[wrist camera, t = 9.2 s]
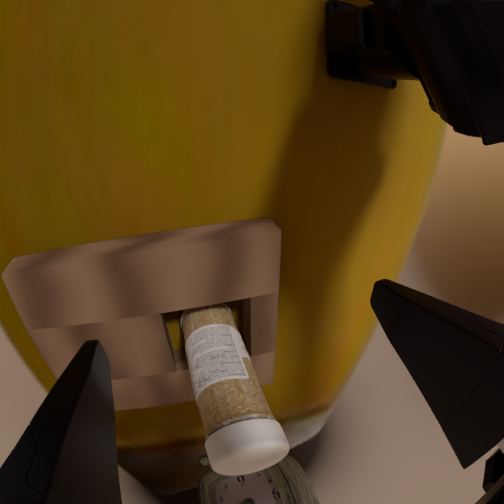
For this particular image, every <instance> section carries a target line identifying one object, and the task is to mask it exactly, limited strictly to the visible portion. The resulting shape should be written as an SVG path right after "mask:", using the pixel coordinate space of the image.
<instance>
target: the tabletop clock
mask: <svg viewBox="0 0 504 504" xmlns="http://www.w3.org/2000/svg"><path fill="white" fill-rule="evenodd" d="M200 462H201V464H202V465H204V466H207V465H208V466H209V467H210V468H211V469H212V467H211V464H210V461H209V458H208V457H202V458H201V459H200ZM198 491H199V500H200V504H319V501H318V499H317V496H316V494H315V491H314V489H313V486H312V484H311V483H310V481H309V479H308V478H307V476H306V474H305V472H304V471H303V469H302V468H301V466H300V465H299V464H298V463H297V461H295V460H294V459H293V458H292V457H290V456H287V455H286V456H285V457H284V458H283V459H282V460H281V461H279V462H277V463H276V464H274V465H272V466H270V467H268V468H266V469H263V470H260V471H257V472H254V473H250V474H245V475H237V476H227V475H221V474H218V473H216V472H215V471H214V470H213V469H212V470H211V471H209V472H207V473H206V474H205V475H203V476H202V477H201V478H200V479H199V486H198Z"/></svg>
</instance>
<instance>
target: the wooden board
mask: <svg viewBox="0 0 504 504" xmlns="http://www.w3.org/2000/svg"><path fill="white" fill-rule="evenodd" d="M281 236H282V231H281V230H280V229H279V227H278V226H277V225H276V224H275V223H274V222H273V221H272V220H271V219H270V218H269V217H266V218H258V219H250V220H242V221H234V222H227V223H219V224H212V225H205V226H198V227H191V228H184V229H177V230H170V231H163V232H157V233H150V234H144V235H138V236H131V237H125V238H119V239H113V240H107V241H101V242H95V243H90V244H84V245H78V246H73V247H67V248H62V249H56V250H51V251H46V252H40V253H35V254H30V255H25V256H20V257H15V258H13V259H12V260H11V262H10V263H9V265H8V266H7V268H6V269H5V271H4V272H3V274H2V275H1V276H2V278H3V280H4V283H5V285H6V287H7V290H8V292H9V294H10V296H11V298H12V301H13V303H14V305H15V307H16V309H17V311H18V313H19V315H20V317H21V319H22V321H23V323H24V325H25V327H26V328H27V330H28V332H29V334H30V336H31V338H32V339H33V341H34V343H35V345H36V346H37V348H38V350H39V351H40V353H41V355H42V356H43V358H44V359H45V361H46V363H47V364H48V366H49V367H50V369H51V370H52V372H53V373H54V375H55V376H56V378H57V379H59V377H60V376H61V374H62V373H63V371H64V370H65V368H66V367H67V366H68V364H69V363H70V361H71V360H72V359H73V357H74V356H75V354H76V353H77V352H78V350H79V349H80V347H81V346H82V345H83V343H84V342H85V341H87V340H94V339H97V340H99V341H100V343H101V345H102V347H103V349H104V351H105V352H106V354H107V356H108V359H109V362H110V372H111V382H112V391H113V399H114V409H115V411H119V410H130V409H140V408H148V407H156V406H163V405H170V404H177V403H183V402H189V401H195V400H196V399H195V395H194V390H193V386H192V381H191V376H190V371H189V367H188V362H187V356H186V351H185V349H181V350H175V351H173V348H172V344H171V340H170V337H169V333H168V329H167V325H166V321H165V317H164V313H166V312H172V311H178V310H184V309H190V308H196V307H202V306H207V305H213V304H219V303H224V302H230V301H235V300H240V299H242V312H243V338H242V340H243V342H244V345H245V347H246V350H247V352H248V355H249V357H250V360H251V363H252V366H253V368H254V371H255V373H256V376H257V379H258V381H259V384H260V386H263V385H267V384H271V383H273V374H274V361H275V346H276V331H277V315H278V298H279V279H280V259H281Z"/></svg>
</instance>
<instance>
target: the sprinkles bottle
mask: <svg viewBox="0 0 504 504" xmlns="http://www.w3.org/2000/svg"><path fill="white" fill-rule="evenodd" d="M180 326H181V329H182V331H183V334H184V339H185V351H186V356H187V362H188V367H189V371H190V376H191V381H192V386H193V390H194V395H195V399H196V403H197V406H198V407H199V411H200V416H201V420H202V423H203V428H204V432H205V439H206V442H205V448H206V451H207V455H208V458H209V461H210V464H211V467H212V469H213V470H214V471H215V472H216V473H218V474H221V475H227V476H237V475H245V474H250V473H254V472H257V471H260V470H263V469H266V468H268V467H270V466H272V465H274V464H276V463H277V462H279V461H281V460H282V459H283V458H284V457H285V456H286V455H287V454H288V452H289V449H290V446H289V443H288V440H287V438H286V436H285V433H284V431H283V429H282V427H281V425H280V423H278V422H277V421H276V419H275V418H274V417H273V414H272V412H271V410H270V408H269V405H268V403H267V401H266V398H265V396H264V394H263V391H262V389H261V386H260V384H259V381H258V379H257V376H256V373H255V371H254V368H253V366H252V363H251V360H250V357H249V355H248V352H247V350H246V347H245V345H244V342H243V340H242V338H241V335H240V333H239V332H238V330H237V328H236V325H235V322H234V320H233V315H232V311H231V309H230V307H229V306H228V305H227V304H226V303H225V302H224V303H219V304H213V305H207V306H202V307H196V308H190V309H184V310H183V311H182V314H181V316H180Z"/></svg>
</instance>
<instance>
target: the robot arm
mask: <svg viewBox="0 0 504 504" xmlns="http://www.w3.org/2000/svg"><path fill="white" fill-rule="evenodd" d="M370 1H372V2H373V3H374V4H371V5H368V6H364V7H358V6H355V5H352V4H348V3H345V2H341V1H338V0H329V1H327V2H326V19H325V32H326V50H327V72H328V75H329V76H330V77H332V78H336V79H343V80H349V81H355V82H360V83H366V84H371V85H376V86H380V87H385V88H390V89H394V88H395V87H396V85H397V79H401V80H417V81H420V82H421V84H422V86H423V89H424V91H425V93H426V95H427V97H428V99H429V105H430V107H431V110H433V111H434V112H436V113H438V114H439V115H440V117H441V119H443V120H444V121H445V122H447V123H448V124H449V125H451V126H452V127H453V130H454V131H455V132H458V133H461V134H464V135H467V136H472V137H480V138H482V141H483V144H484V145H491V144H496V143H500V142H504V0H370ZM332 4H334V6H335V8H334V7H333V6H332ZM334 69H335V70H336V74H334V73H333V70H334ZM390 81H391V84H390ZM370 304H371V307H372V309H373V311H374V313H375V314H376V316H377V318H378V320H379V322H380V324H381V326H382V328H383V330H384V332H385V334H386V336H387V337H388V339H389V341H390V343H391V344H392V346H393V347H394V349H395V350H396V352H397V354H398V355H399V357H400V358H401V360H402V362H403V363H404V365H405V366H406V368H407V370H408V371H409V373H410V375H411V376H412V378H413V379H414V381H415V383H416V384H417V386H418V388H419V389H420V391H421V392H422V394H423V396H424V398H425V400H426V401H427V403H428V405H429V406H430V408H431V410H432V412H433V413H434V415H435V417H436V419H437V420H438V422H439V424H440V426H441V427H442V430H443V432H444V433H445V435H446V437H447V439H448V441H449V443H450V445H451V446H452V448H453V450H454V452H455V454H456V456H457V458H458V460H459V461H460V464H461V466H462V467H463V469H466V468H467V467H469V466H470V465H471V464H473V463H474V462H475V461H477V460H478V459H479V458H480V457H482V456H483V455H484V454H486V453H487V452H488V451H489V450H491V449H492V448H493V447H494V446H496V445H498V447H499V448H498V449H497V450H496V451H495V452H494V453H493V454H492V455H491V456H490V458H488V459H487V460H486V465H485V474H484V480H483V489H484V490H485V492H486V494H484V495H483V496H482V497H481V498H480V499H479V500H478V501H477V502H476V503H475V504H504V324H502V323H499V322H496V321H493V320H490V319H488V318H485V317H483V316H480V315H477V314H475V313H473V312H470V311H467V310H465V309H462V308H460V307H457V306H455V305H452V304H450V303H447V302H445V301H442V300H439V299H437V298H434V297H432V296H429V295H427V294H424V293H421V292H419V291H417V290H414V289H411V288H409V287H406V286H403V285H401V284H398V283H396V282H393V281H390V280H388V279H382V280H379V281H376V282H375V284H374V287H373V291H372V295H371V299H370ZM0 504H122V500H121V492H120V484H119V475H118V464H117V452H116V435H115V409H114V399H113V391H112V382H111V372H110V362H109V359H108V356H107V354H106V352H105V351H104V349H103V347H102V345H101V343H100V341H99V340H97V339H94V340H87V341H85V342H84V343H83V345H82V346H81V347H80V349H79V350H78V352H77V353H76V354H75V356H74V357H73V359H72V360H71V361H70V363H69V364H68V366H67V367H66V368H65V370H64V371H63V373H62V374H61V376H60V377H59V379H58V380H57V382H56V383H55V384H54V386H53V387H52V389H51V390H50V392H49V393H48V395H47V396H46V398H45V400H44V401H43V403H42V404H41V406H40V407H39V409H38V410H37V412H36V414H35V415H34V417H33V419H32V420H31V422H30V425H28V426H27V428H26V430H25V431H24V433H23V435H22V436H21V438H20V439H19V441H18V443H17V444H16V446H15V447H14V449H13V450H12V452H11V453H10V455H9V456H8V458H7V459H6V460H5V462H4V463H3V465H2V466H1V468H0Z"/></svg>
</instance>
